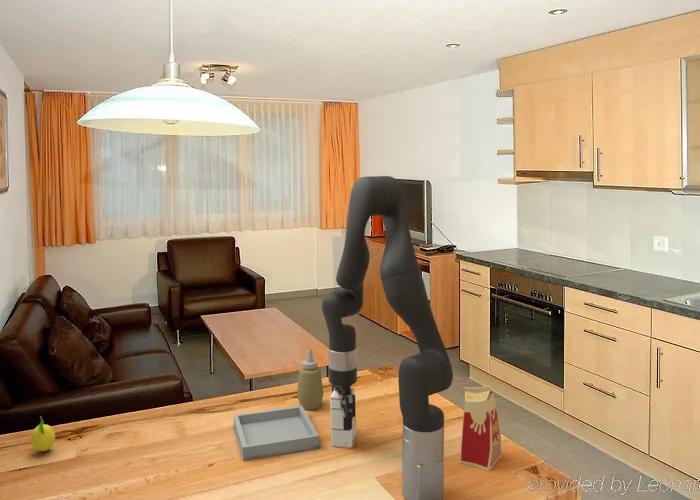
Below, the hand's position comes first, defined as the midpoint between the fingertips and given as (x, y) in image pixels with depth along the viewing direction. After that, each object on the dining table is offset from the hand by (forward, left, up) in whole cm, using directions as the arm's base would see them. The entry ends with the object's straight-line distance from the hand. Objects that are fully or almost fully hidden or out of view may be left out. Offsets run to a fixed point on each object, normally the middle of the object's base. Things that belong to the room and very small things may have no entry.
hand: (343, 422), depth 161 cm
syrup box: (0, 0, -6) cm, 6 cm away
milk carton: (-19, -30, -6) cm, 36 cm away
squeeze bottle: (+25, +3, -6) cm, 26 cm away
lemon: (+20, +76, -6) cm, 79 cm away
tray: (+9, +17, -6) cm, 20 cm away
